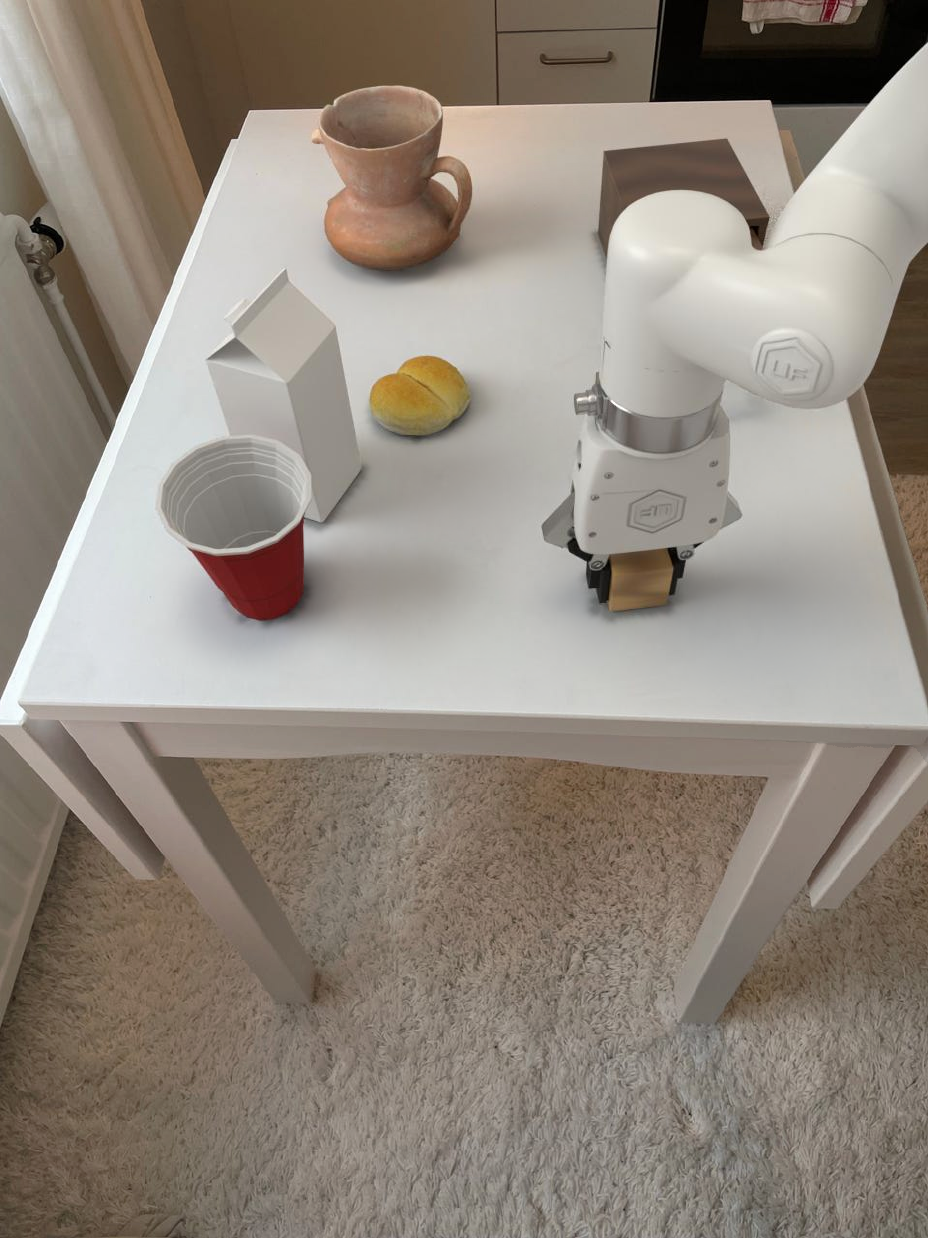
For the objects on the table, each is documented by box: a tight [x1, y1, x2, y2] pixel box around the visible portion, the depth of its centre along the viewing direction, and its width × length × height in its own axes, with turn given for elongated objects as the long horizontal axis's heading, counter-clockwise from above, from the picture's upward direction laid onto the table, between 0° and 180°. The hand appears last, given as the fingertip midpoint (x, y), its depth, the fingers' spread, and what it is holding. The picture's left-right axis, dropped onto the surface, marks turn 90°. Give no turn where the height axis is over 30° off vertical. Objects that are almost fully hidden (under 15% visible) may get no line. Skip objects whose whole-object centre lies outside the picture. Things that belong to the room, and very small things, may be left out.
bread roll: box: [369, 355, 472, 436], centre depth 86 cm, size 8×9×4 cm
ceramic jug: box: [310, 85, 473, 271], centre depth 98 cm, size 18×14×14 cm
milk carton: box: [205, 267, 362, 523], centre depth 75 cm, size 7×7×19 cm
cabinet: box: [597, 137, 771, 260], centre depth 95 cm, size 15×13×9 cm
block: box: [607, 548, 673, 612], centre depth 72 cm, size 4×4×4 cm
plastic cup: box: [155, 435, 311, 621], centre depth 71 cm, size 11×11×12 cm
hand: (632, 583), depth 74 cm, fingers closed on block, 4 cm apart
